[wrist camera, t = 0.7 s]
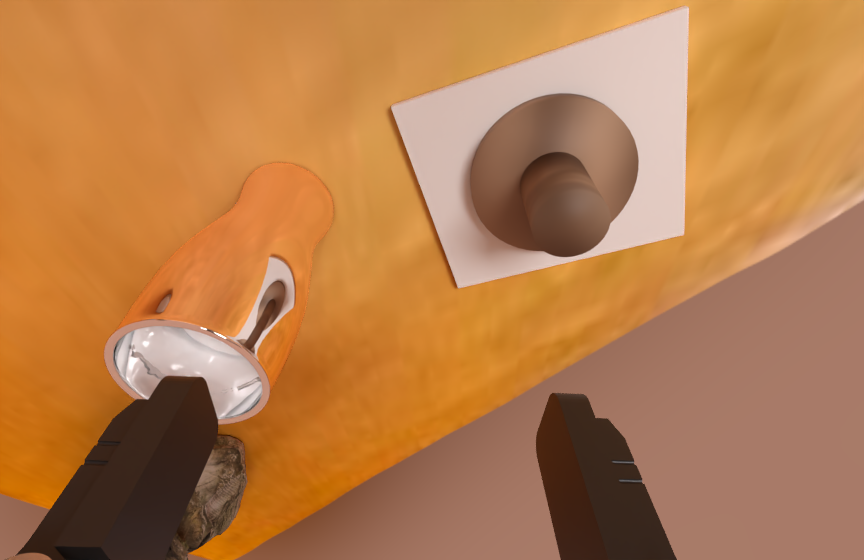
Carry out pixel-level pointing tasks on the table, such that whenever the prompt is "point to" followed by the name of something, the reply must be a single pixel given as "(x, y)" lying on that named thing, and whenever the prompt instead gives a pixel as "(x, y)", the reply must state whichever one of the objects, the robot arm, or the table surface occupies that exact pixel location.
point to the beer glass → (229, 297)
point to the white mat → (551, 74)
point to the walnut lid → (554, 174)
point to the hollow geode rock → (212, 498)
